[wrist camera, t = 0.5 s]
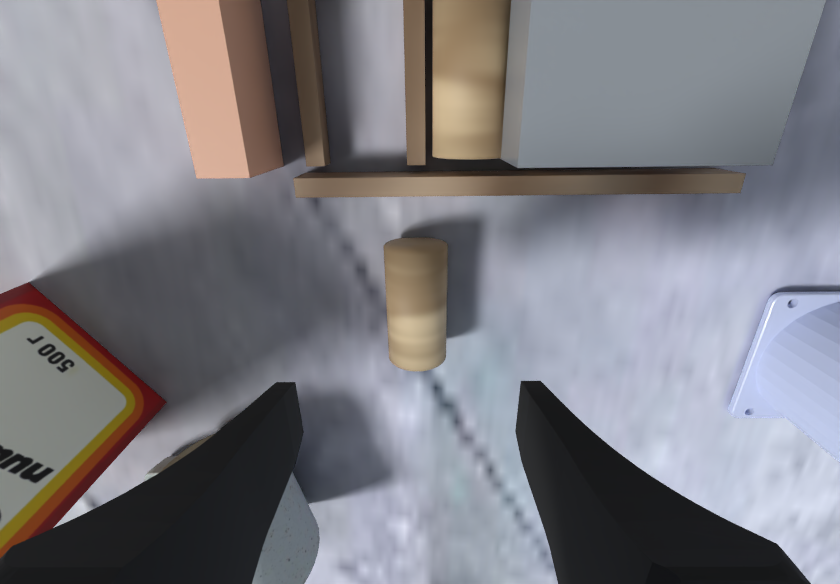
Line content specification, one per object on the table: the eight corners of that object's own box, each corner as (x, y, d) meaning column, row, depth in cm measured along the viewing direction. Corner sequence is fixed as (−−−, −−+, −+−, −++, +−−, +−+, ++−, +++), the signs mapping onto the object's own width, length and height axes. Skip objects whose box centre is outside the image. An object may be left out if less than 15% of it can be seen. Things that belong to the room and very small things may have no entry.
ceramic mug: (290, 407, 24) (233, 526, 17) (333, 500, 27) (300, 632, 20) (135, 436, 26) (23, 557, 19) (193, 522, 29) (116, 653, 22)
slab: (761, -39, 13) (852, -81, 10) (709, 156, 15) (772, 165, 13) (513, -35, 13) (537, -75, 10) (500, 159, 15) (517, 168, 13)
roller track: (776, -62, 15) (861, -105, 12) (709, 185, 19) (762, 198, 16) (278, -54, 15) (244, -94, 12) (308, 189, 19) (287, 203, 16)
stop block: (257, -18, 16) (208, -59, 12) (283, 166, 19) (249, 177, 15) (207, -18, 16) (143, -58, 12) (241, 166, 19) (196, 178, 15)
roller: (383, 237, 20) (383, 256, 17) (443, 235, 20) (452, 254, 18) (388, 341, 22) (389, 373, 20) (441, 338, 23) (449, 369, 20)
